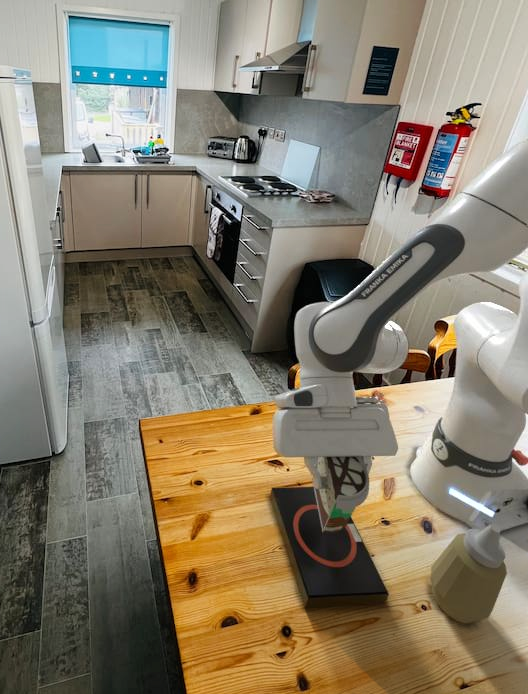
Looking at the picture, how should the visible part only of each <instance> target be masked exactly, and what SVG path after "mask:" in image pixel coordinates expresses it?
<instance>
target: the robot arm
mask: <svg viewBox="0 0 528 694" xmlns="http://www.w3.org/2000/svg"><path fill="white" fill-rule="evenodd" d="M527 249H528V138H527V139H526V140H522V141H520V142H518V143H515V144H514V145H512V146H511V147H510V148H509V149H507V150H506V151H504V152H503V153H502V154H500V155H499V156H498V157H496V158H495V160H493V161H491V162H490V163H489V164H488V165H487V166H486V167H485V168H484V169H483V170H481V172H479V173H478V174H477V175H476V176H475V177H474V178H473V179H472V180H471V181H470V182H469V183H467V185H466V186H465V187H464V188H463V189H462V190H461V191H459V193H458V194H457V195H456V196H455V197H454V199H452V200H451V202H450V203H449V204H447V205H446V206H445V207H444V208H443V209H442V211H441V212H440V213H439V214H437V216H436V217H434V219H433V220H432V221H431V222H429V223H428V224H427V225H425V226H424V227H423V228H421V229H420V230H419V231H418V232H416V233H415V234H414V235H412V236H411V237H410V238H408V239H407V240H406V241H405V242H404V243H402V244H401V245H400V246H399V247H398V248H397V249H396V250H395V251H394V252H392V253H391V254H390V255H389V256H388V257H387V258H386V259H384V261H382V263H380V265H378V266H377V268H376V269H374V270H373V271H372V272H371V273H370V274H369V275H368V276H367V277H366V278H365V279H364V280H363V281H362V282H360V283H359V284H358V285H357V286H356V287H355V288H354V289H353V290H351V291H350V292H349V293H348V294H346V295H345V296H343V297H341V298H339V299H337V300H335V301H333V302H331V301H319V302H314V303H310V304H307V305H304V306H303V307H301V308H300V309H299V310H298V311H297V312H296V314H295V318H294V325H293V329H294V330H293V332H294V333H293V334H294V346H295V354H296V358H297V360H298V363H299V376H298V377H299V387H296V388H292V389H290V390H289V391H285V392H282V393H280V394H277V395H276V396H274V404H275V407H276V408H278V409H277V410H276V411H275V413H274V415H273V418H272V445H273V449H274V452H275V453H276V454H277V455H278V456H279V457H282V458H303V461H304V463H303V464H304V465H305V467H306V468H307V470H308V471H309V473H310V475H311V476H312V478H313V481H314V486H313V487H315V488H316V489H327V484H326V482H327V479H326V477H325V476H322V475H320V473H319V472H318V470H317V468H316V467H315V465H318V460H317V457H350V456H360V457H361V459H362V460H363V462H364V463H365V466H366V468H367V471H368V475H369V474H370V472H371V468H372V467H373V460H372V457H395V456H396V455H397V453H398V451H399V445H398V441H397V437H396V434H395V430H394V427H393V425H392V422H391V419H390V412H389V407H388V406H387V404H386V403H385V402H384V401H383V400H381V399H379V398H378V397H376V396H357V394H356V389H355V384H354V378H353V373H364V374H378V375H379V374H387V373H390V372H393V371H397V370H398V369H400V368H401V367H402V366H403V365H404V363H406V361H407V359H408V356H409V353H410V341H409V339H408V336H407V334H406V332H405V330H404V329H403V328H402V327H401V326H400V325H399V324H398V323H397V322H395V321H394V320H393V319H395V317H397V315H399V314H400V313H401V312H402V311H403V310H404V309H406V308H407V307H408V306H409V305H410V304H411V303H412V302H414V301H415V300H416V299H417V298H418V297H419V296H421V294H423V293H424V292H425V291H426V290H427V289H428V288H430V287H431V286H433V285H435V284H437V283H439V282H442V281H443V280H446V279H449V278H450V279H451V278H455V277H458V276H463V275H473V274H474V275H475V274H476V275H477V274H485V273H486V274H487V273H491V272H495V271H497V270H498V269H501V268H502V267H503V266H505V265H506V264H508V263H509V262H511V261H512V260H514V259H515V258H517V257H518V256H520V255H521V254H522V253H523V252H524V251H526V250H527ZM518 294H519V299H520V305H519V306H520V307H519V312H518V313H516V312H514V311H511V310H510V309H508V308H506V307H503V306H501V305H498V304H496V303H493V302H487V301H481V302H475V303H472V304H469V305H467V306H465V307H463V308H462V309H461V310H460V311H459V312H458V313H457V314H456V316H455V317H454V319H453V325H452V327H453V332H454V335H455V341H456V342H455V343H456V355H455V356H456V357H455V373H454V382H453V389H452V392H451V395H450V398H449V401H448V403H447V405H446V408H445V411H444V413H443V415H442V417H440V418H439V419H438V420H437V422H436V424H435V425H434V429H433V430H432V432H430V435H429V436H428V437H427V439H426V441H425V443H423V446H419V447H418V448H417V449H416V453H415V454H416V457H415V459H414V461H412V463H411V465H410V468H409V469H410V470H409V471H410V476H411V479H412V482H413V484H414V485H415V487H416V489H417V490H418V492H420V494H421V495H422V496H423V497H424V498H425V499H426V500H427V501H428V502H429V503H430V504H431V505H433V506H434V507H435V508H437V509H438V510H440V511H441V512H443V513H445V514H447V515H448V516H450V517H453V518H454V519H457V520H459V521H461V522H462V523H464V524H466V525H467V526H469V527H470V528H471V529H474V528H475V529H479V530H482V531H483V530H484V529H485V528H487V527H488V526H489V525H491V524H494V525H496V526H498V527H499V528H500V532H502V531H505V530H508V529H512V528H515V527H519V526H521V525H525V524H528V476H527V475H526V474H525V473H524V471H522V469H521V468H520V467H519V466H521V467H523V466H526V465H527V464H528V457H527V456H526V455H525V454H523V452H522V451H521V450H519V449H517V450H516V449H515V447H516V445H517V443H518V442H519V440H520V438H521V436H522V434H523V432H524V431H525V428H526V426H527V425H526V424H527V416H526V415H528V269H526V272H524V274H523V275H522V277H521V278H520V279H519V282H518ZM513 460H514V461H515V462H514V461H513ZM516 463H517V464H516ZM369 476H370V475H369ZM313 481H312V482H313Z"/></svg>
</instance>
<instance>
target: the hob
mask: <svg viewBox="0 0 528 694" xmlns="http://www.w3.org/2000/svg"><path fill="white" fill-rule="evenodd" d="M269 500H270V503H271V507H272V509H273V512H274V516H275V519H276V523H277V526H278V528H279V531H280V532H279V533H280V535H281V538H282V542H283V544H284V548H285V551H286V554H287V557H288V559H289V560H288V561H289V563H290V566H291V569H292V574H293V576H294V579H295V582H296V585H297V590H298V593H299V596H300V598H301V602H302V605H303V608H304V609H321V608H340V607H343V608H344V607H361V606H383V605H385V604H386V602H387V599H388V597H389V595H390V593H389V591H388V589H387V587H386V585H385V583H384V581H383V579H382V577H381V575H380V572H379V570H378V568H377V567H376V565H375V562H374V560H373V559H372V557H371V554H370V552H369V550H368V548H367V547H366V544H365V542H364V540H363V538H362V536H361V533H360V532H359V530H358V528H357V526H356V524H355V522H354V520H353V518H352V516H351V517H350V519H349V521H348V523H347V525H346V526H345V528H343V529H342V530H341V531H339V532H336V533H331V534H329V533H323V532H322V527H321V522H320V517H319V512H318V507H317V501H316V496H315V491H314V486H290V487H288V486H287V487H286V486H285V487H271V490H270V494H269Z"/></svg>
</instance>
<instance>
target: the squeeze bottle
mask: <svg viewBox="0 0 528 694" xmlns="http://www.w3.org/2000/svg"><path fill="white" fill-rule="evenodd" d="M500 538H501V531H500V528H499V527H498V526H496V525H494V524H491V525H489V526H488V527H487V528H485V529H484V530H483V531H482V530H479V529H475V528H474V529H473V528H469V529H468V530H467V532H462V533H457V534H456V535H455V537H454V538H453V539H452V540H451V542H449V544H448V545H447V547H446V548H445V549H444V550H443V552H442V553H441V554H440V555H439V557H438V558H437V559H436V560H435V561H434V563H433V564H432V565H431V567H430V580H431V581H430V582H431V592H432V595H433V598H434V601H435V602H436V603H437V605H438V606H439V609H441V610H442V611H443V612H444V613H445V614H446V615H447V616H448V617H450V618H451V619H453V620H455V621H457V622H459V623H462V624H470V623H474V622H478V621H481V620H484V619H488V618H489V617H490V616H491V614H492V613H493V610H494V608H495V605H496V603H497V600H498V598H499V596H500V592H501V590H502V588H503V584H504V583H505V580H506V577H507V573H508V572H507V565H506V564H505V562H504V561H505V559H506V558H507V557H506V551H505V549H504V547H503V546H502V544H501V543H500Z"/></svg>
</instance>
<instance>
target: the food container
mask: <svg viewBox="0 0 528 694" xmlns="http://www.w3.org/2000/svg"><path fill="white" fill-rule="evenodd" d="M317 460H318V465H315V467H316V468H317V470H318V472H319V473H320V475H322V476H325V477H326V479H327V482H326V484H327V489H316V488H315V487H314V481H313V477H312V478H311V481H312V487H314V491H315V496H316V501H317V507H318V512H319V517H320V522H321V527H322V532H323V533H329V534H331V533H336V532H339V531H341V530H342V529H343V528H345V526H346V525H347V523H348V521H349V519H350V517H351V518H352V515H353V513H354V512H355V510H356V508H357V507H359V506H361V505H362V504H363V503H365V501H366V500H367V498H368V496H369V491H370V475H368V471H367V468H366V466H365V463H364V462H363V460H362V459H361V457H360V456H350V457H317Z"/></svg>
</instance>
